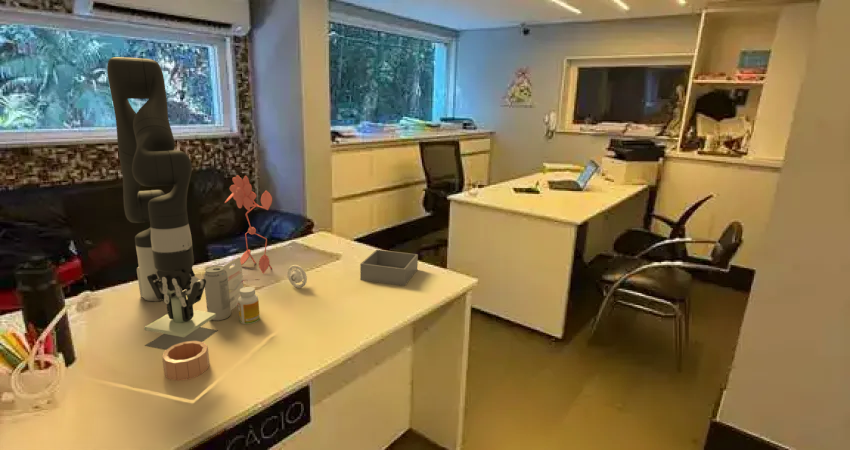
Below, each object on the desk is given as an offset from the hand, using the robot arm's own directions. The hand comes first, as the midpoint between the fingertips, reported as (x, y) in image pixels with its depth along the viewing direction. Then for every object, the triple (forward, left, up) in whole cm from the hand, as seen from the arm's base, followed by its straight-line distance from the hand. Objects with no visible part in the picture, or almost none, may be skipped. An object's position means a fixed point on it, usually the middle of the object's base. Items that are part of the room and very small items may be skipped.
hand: (181, 318), depth 102 cm
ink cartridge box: (-12, +31, -14) cm, 36 cm away
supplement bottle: (-1, +25, -14) cm, 28 cm away
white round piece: (0, +51, -14) cm, 53 cm away
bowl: (0, 0, -13) cm, 13 cm away
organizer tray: (+25, +71, -13) cm, 76 cm away
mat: (-11, +11, -13) cm, 20 cm away
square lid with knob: (0, 0, -1) cm, 1 cm away
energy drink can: (-10, +24, -13) cm, 29 cm away
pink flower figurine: (-24, +57, -14) cm, 63 cm away
